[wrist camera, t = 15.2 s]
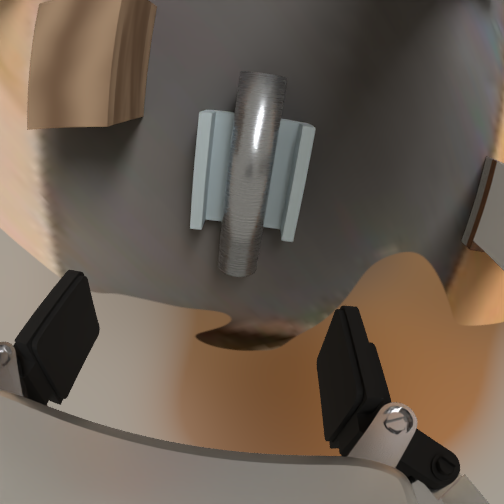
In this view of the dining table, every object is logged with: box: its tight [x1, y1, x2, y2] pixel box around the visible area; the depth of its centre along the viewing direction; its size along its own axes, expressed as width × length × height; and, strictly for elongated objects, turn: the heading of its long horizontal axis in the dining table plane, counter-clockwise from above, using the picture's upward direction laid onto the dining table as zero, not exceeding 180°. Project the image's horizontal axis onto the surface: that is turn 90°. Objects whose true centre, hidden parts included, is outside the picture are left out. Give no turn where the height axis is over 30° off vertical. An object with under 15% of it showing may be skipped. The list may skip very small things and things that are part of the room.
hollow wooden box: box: [27, 0, 157, 130], centre depth 20 cm, size 8×11×8 cm
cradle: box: [190, 109, 316, 242], centre depth 26 cm, size 9×10×4 cm
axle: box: [218, 71, 287, 277], centre depth 25 cm, size 17×4×4 cm, turn 172°
